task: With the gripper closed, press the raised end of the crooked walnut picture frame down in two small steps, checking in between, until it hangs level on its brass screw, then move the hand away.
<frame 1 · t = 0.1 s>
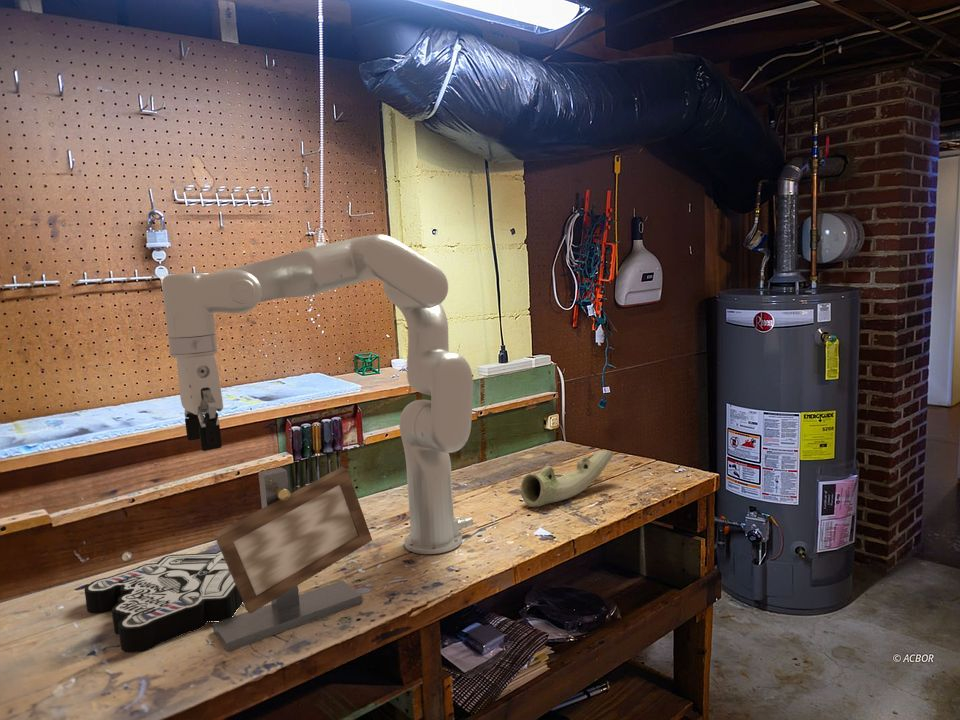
hand: (204, 443, 119), 31 cm above the workbench, tool pointing down, fingers open, 9 cm apart
picture frame: (298, 537, 119), point 14 cm above the workbench, hinge at 15.0°
pipe: (568, 496, 175), on the workbench
hanging post: (290, 616, 120), on the workbench
decorative sign: (191, 600, 130), on the workbench
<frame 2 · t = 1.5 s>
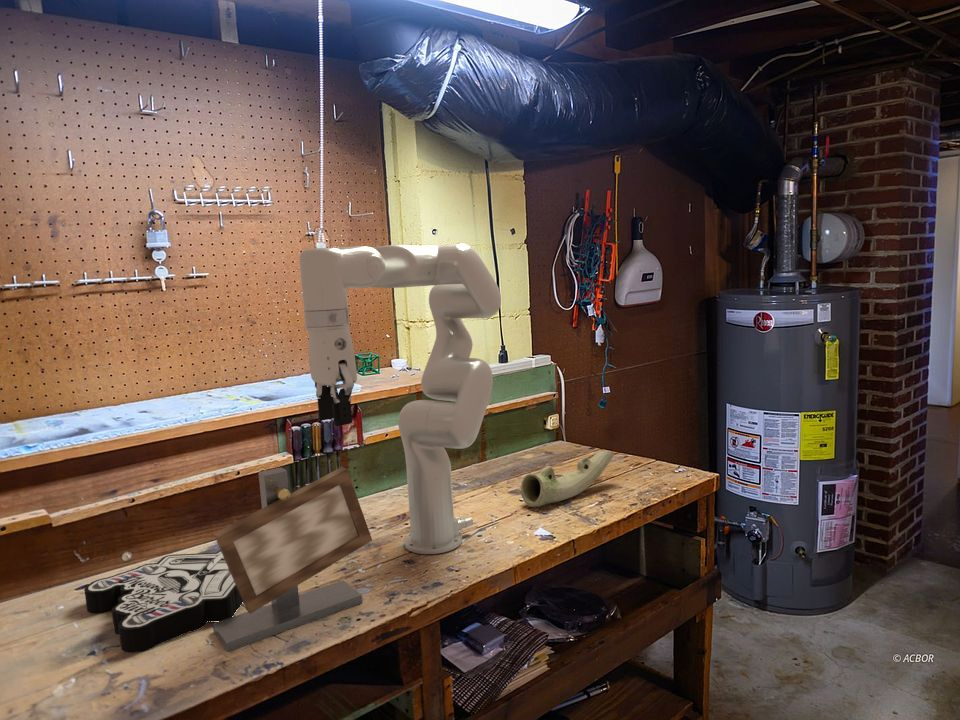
hand: (335, 420, 121), 33 cm above the workbench, tool pointing down, fingers open, 5 cm apart
nothing on the workbench moved.
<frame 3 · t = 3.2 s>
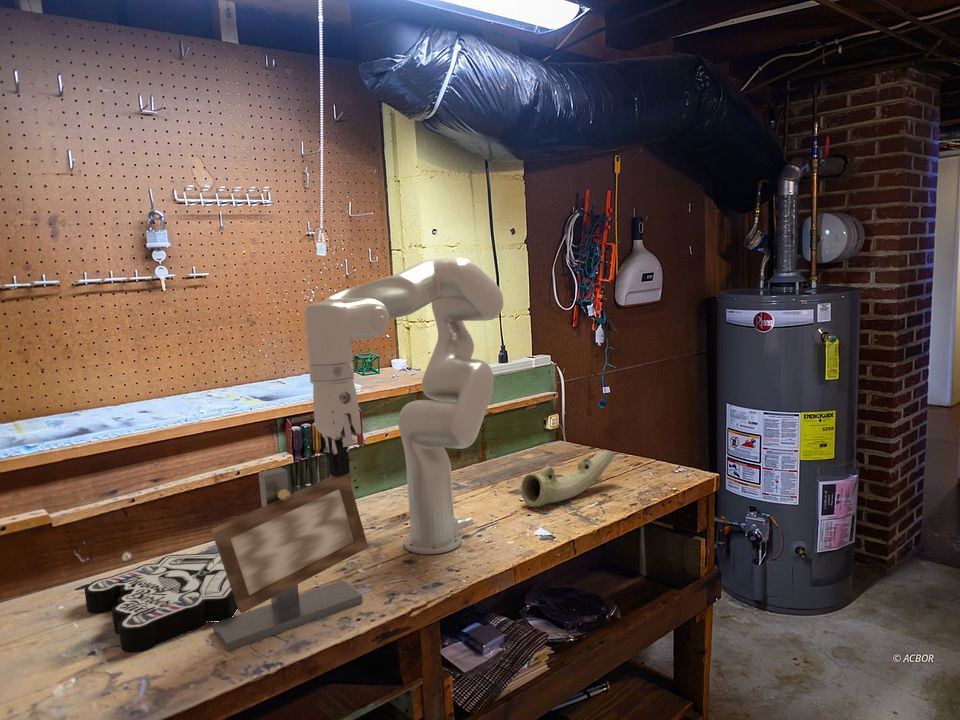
hand: (339, 473, 122), 24 cm above the workbench, tool pointing down, fingers closed
picture frame: (294, 539, 118), point 14 cm above the workbench, hinge at 10.9°, touching gripper
everything else where it was.
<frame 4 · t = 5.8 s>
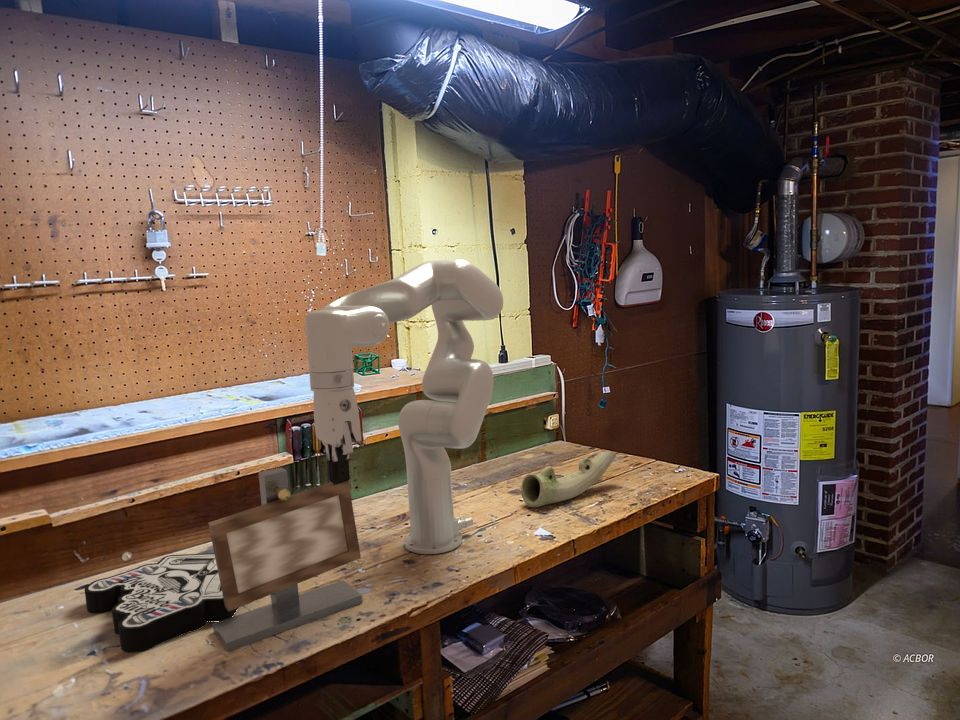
hand: (339, 480, 123), 23 cm above the workbench, tool pointing down, fingers closed
picture frame: (289, 541, 118), point 14 cm above the workbench, hinge at 4.5°, touching gripper
everything else where it was.
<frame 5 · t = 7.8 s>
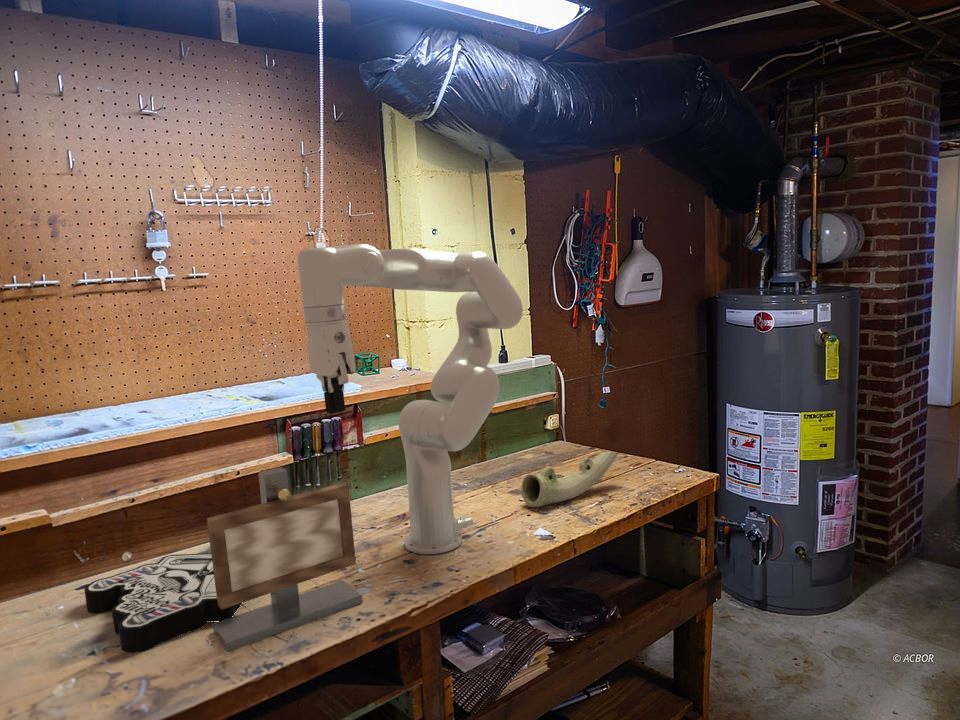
hand: (335, 411, 129), 33 cm above the workbench, tool pointing down, fingers closed
picture frame: (285, 542, 118), point 14 cm above the workbench, hinge at 0.8°
everything else where it was.
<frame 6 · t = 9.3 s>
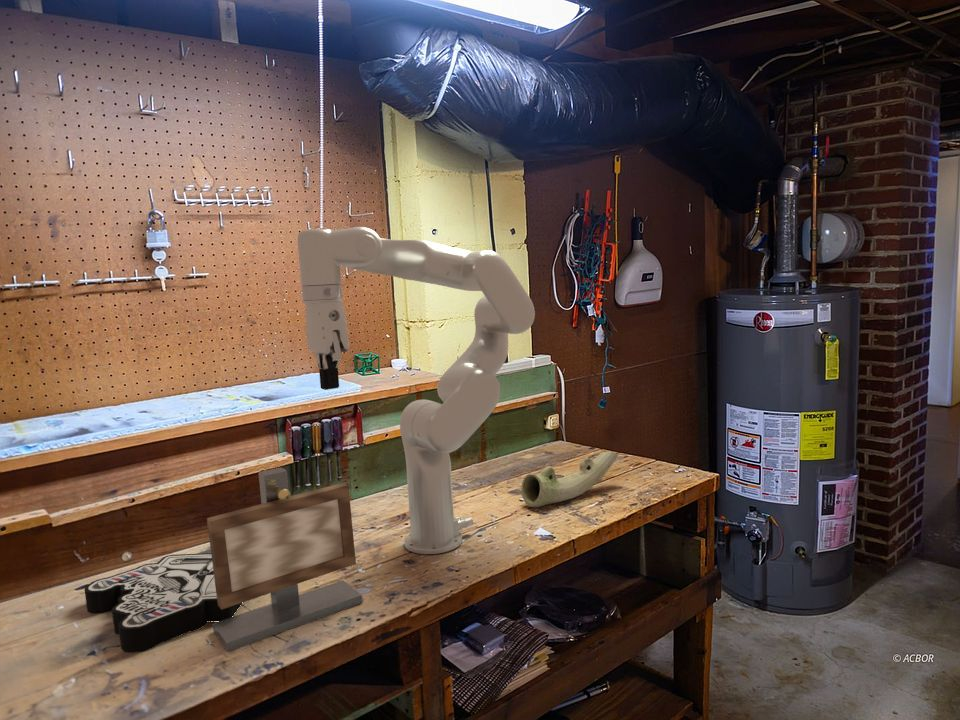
hand: (330, 388, 134), 37 cm above the workbench, tool pointing down, fingers closed
nothing on the workbench moved.
at the end: picture frame at +1° (first picture: +15°); the gripper is holding nothing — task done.
